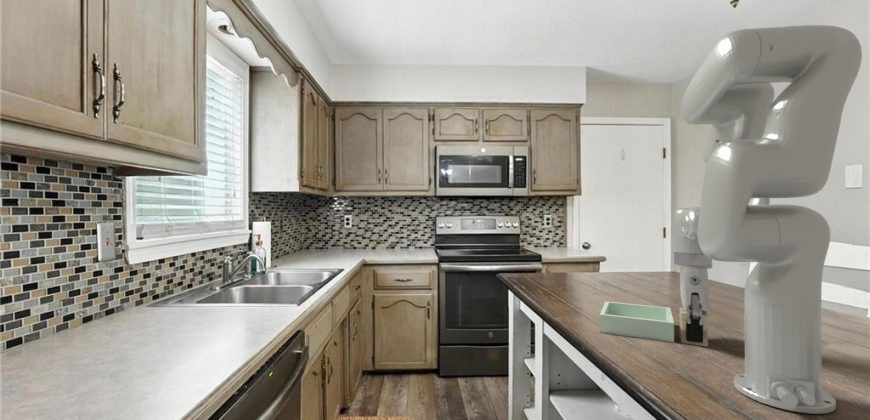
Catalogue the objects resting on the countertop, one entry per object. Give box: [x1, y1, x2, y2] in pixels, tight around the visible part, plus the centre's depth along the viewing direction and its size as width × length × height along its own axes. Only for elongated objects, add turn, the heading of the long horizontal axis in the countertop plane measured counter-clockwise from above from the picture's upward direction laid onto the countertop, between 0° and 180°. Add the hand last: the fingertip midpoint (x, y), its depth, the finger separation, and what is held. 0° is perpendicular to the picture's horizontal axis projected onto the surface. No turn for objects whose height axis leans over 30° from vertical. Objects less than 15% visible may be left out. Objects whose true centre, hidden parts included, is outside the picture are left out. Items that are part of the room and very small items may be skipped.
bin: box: [599, 301, 675, 343], centre depth 101 cm, size 16×16×4 cm
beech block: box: [679, 307, 709, 347], centre depth 91 cm, size 5×5×7 cm
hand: (693, 337), depth 91 cm, fingers closed on beech block, 5 cm apart
